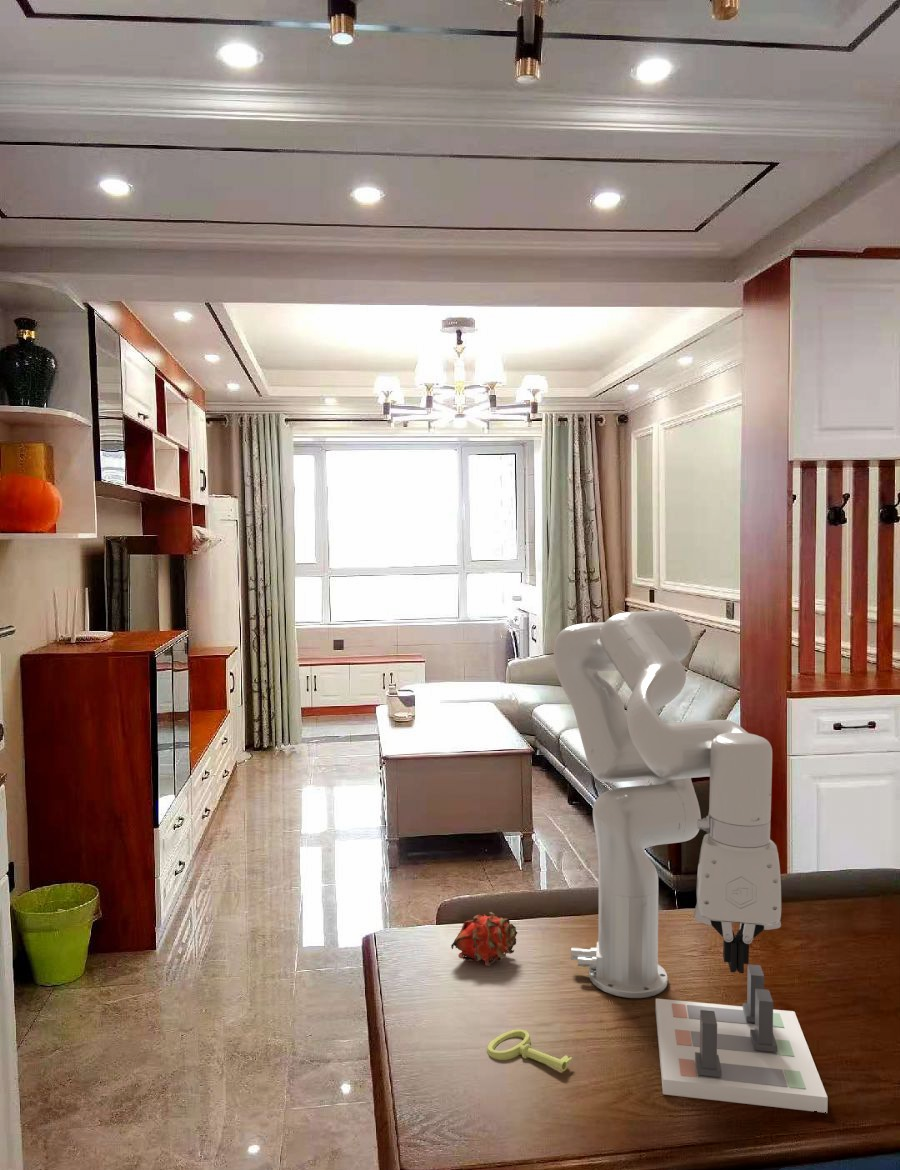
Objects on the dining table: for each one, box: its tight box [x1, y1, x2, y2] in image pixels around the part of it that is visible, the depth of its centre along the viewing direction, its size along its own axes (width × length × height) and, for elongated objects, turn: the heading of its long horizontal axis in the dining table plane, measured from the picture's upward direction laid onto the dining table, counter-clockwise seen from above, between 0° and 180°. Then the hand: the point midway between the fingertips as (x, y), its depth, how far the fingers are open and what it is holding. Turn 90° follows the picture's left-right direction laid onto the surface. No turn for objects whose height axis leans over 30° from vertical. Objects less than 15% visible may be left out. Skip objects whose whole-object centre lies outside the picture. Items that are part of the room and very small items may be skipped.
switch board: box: [655, 998, 829, 1114], centre depth 118 cm, size 20×20×2 cm
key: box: [486, 1029, 573, 1072], centre depth 120 cm, size 7×12×2 cm, turn 65°
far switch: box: [742, 963, 765, 1022], centre depth 124 cm, size 3×4×7 cm
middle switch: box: [750, 988, 777, 1052], centre depth 117 cm, size 3×4×7 cm
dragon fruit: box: [450, 911, 519, 967], centre depth 146 cm, size 8×8×12 cm
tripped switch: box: [695, 1010, 722, 1077], centre depth 112 cm, size 3×4×7 cm
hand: (735, 967), depth 111 cm, fingers closed
